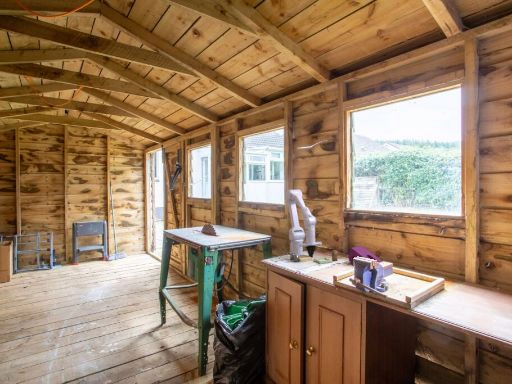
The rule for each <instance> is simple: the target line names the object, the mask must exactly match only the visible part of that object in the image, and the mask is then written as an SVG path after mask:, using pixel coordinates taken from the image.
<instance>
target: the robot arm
mask: <svg viewBox="0 0 512 384" xmlns="http://www.w3.org/2000/svg"><path fill="white" fill-rule="evenodd" d="M284 194H285V201H286V203H287V206H288V211H289V212H288V213H289V218H290V223H291V228H290V229H289V230H288V238H289V240H290V243H289V249H290V250H289V252H288V254H290V253H295V255H299V256H302V255H306V254H305V253H303V252H304V251H303V250H304V249H303V248H304V247H305V249H306V251H307V253H308V254H307V255H308V256H310V257H312V259H314V258H313V257H314V254H315V251H316V249H317V246H322V245H323V244H322V242H321V241H316V225H317V223H318V222H317V221H318V220H317V218H316V216H314V215H313V214H312V213H311V210H310V208H309V207H307V206H306V205H305V201H304V199H303V192H302V190H301V189H299V188H298V189H287V190H286V192H285V193H284ZM296 204H297V205H296ZM297 206H299V207H298V208H299V209H300V210H299V211H300V214H301V217H302V219H303V225H304V228H303V227H301V226H300V221H299V216H298V215H299V214H298V209H297ZM304 229H305V231H304ZM304 240H305V242H304Z"/></svg>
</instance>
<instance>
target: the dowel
mask: <svg viewBox="0 0 512 384" xmlns="http://www.w3.org/2000/svg"><path fill="white" fill-rule="evenodd" d="M331 260H332V262H338V261H339V260H338V250H337V249H335V250H331Z"/></svg>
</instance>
